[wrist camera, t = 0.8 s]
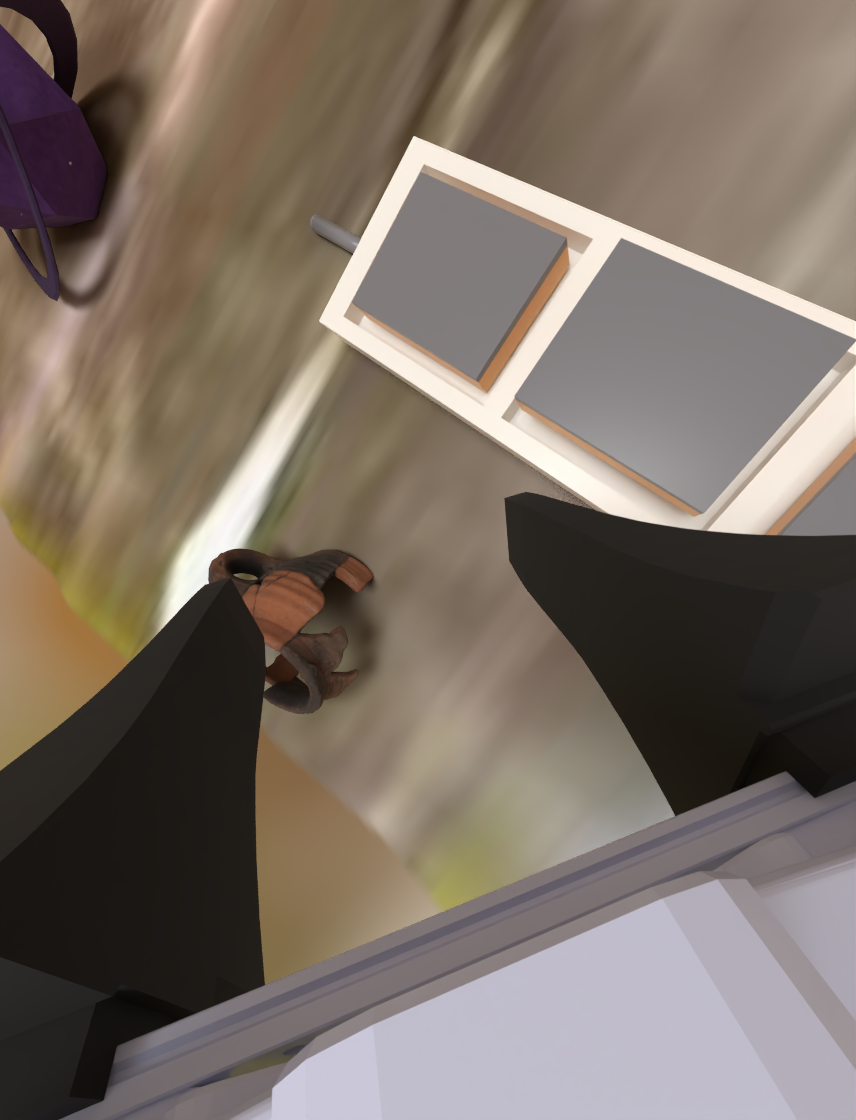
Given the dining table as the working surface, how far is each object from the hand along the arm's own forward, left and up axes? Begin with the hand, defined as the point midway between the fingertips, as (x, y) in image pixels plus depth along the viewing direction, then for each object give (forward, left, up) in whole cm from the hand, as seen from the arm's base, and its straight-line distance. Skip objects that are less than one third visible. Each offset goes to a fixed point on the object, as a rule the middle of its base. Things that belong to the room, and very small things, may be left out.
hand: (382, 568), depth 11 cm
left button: (+11, -10, -13) cm, 20 cm away
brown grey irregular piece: (+8, +11, -15) cm, 21 cm away
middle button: (-1, -10, -11) cm, 16 cm away
